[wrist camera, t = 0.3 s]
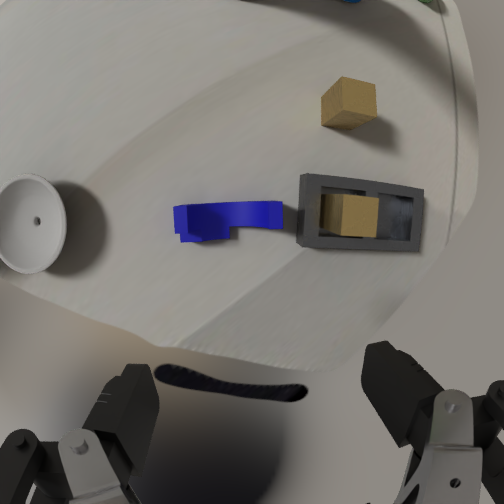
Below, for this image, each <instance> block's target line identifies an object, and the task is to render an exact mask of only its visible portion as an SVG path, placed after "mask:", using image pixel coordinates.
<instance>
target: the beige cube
mask: <svg viewBox="0 0 504 504" xmlns="http://www.w3.org/2000/svg"><path fill="white" fill-rule="evenodd" d="M378 205H379V198H374V197H365V196H357V195H347V194H321V203H320V219H319V227H320V228H323V229H325V230H328V231H331V232H333V233H336V234H338V235H342V236H361V237H376V231H377V219H378Z"/></svg>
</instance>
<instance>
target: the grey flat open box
mask: <svg viewBox="0 0 504 504" xmlns="http://www.w3.org/2000/svg"><path fill="white" fill-rule="evenodd" d="M321 194H347V195H357V196H365V197H374V198H379V205H378V219H377V231H376V237H361V236H342V235H338V234H336V233H333V232H331V231H328V230H325V229H323V228H320V227H319V219H320V203H321ZM423 199H424V189H418V188H413V187H407V186H401V185H395V184H389V183H383V182H376V181H369V180H362V179H354V178H346V177H338V176H329V175H319V174H309V173H306V174H303V175H300V187H299V207H298V224H297V240H296V243H298V244H299V245H300V246H302V247H310V248H339V249H367V250H394V251H419V244H420V235H421V225H422V214H423Z"/></svg>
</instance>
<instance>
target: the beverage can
mask: <svg viewBox="0 0 504 504" xmlns="http://www.w3.org/2000/svg"><path fill="white" fill-rule="evenodd" d="M343 1H346V2H351V3H356V2H359V1H361V0H343Z"/></svg>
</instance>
